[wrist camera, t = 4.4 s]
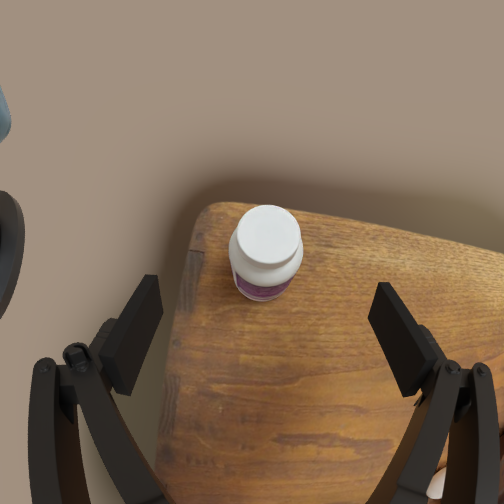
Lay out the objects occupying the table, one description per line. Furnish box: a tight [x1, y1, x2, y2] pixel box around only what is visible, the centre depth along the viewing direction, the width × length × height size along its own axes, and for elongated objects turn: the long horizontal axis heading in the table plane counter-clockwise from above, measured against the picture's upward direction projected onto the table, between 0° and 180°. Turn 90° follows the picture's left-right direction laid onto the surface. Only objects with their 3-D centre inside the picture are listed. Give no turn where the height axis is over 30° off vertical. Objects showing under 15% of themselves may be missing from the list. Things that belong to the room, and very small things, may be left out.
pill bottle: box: [229, 205, 303, 301], centre depth 22 cm, size 5×5×10 cm
